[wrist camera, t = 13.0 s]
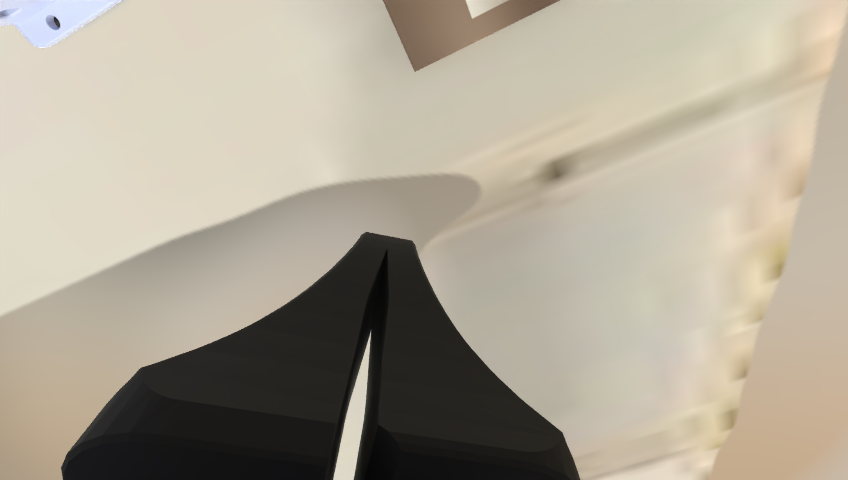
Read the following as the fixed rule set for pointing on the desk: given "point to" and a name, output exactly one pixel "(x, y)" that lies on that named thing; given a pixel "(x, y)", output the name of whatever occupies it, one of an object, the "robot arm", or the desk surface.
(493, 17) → the game board
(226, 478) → the robot arm
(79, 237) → the desk surface
